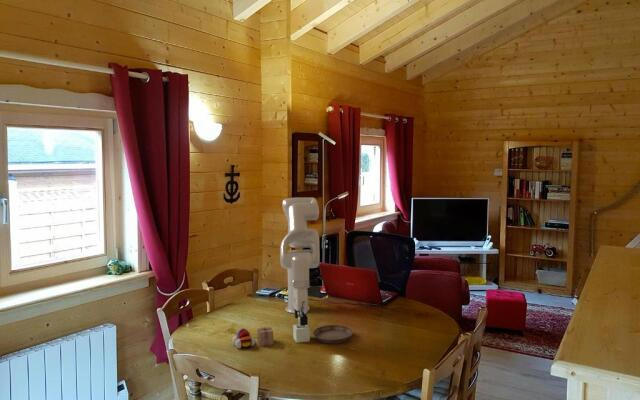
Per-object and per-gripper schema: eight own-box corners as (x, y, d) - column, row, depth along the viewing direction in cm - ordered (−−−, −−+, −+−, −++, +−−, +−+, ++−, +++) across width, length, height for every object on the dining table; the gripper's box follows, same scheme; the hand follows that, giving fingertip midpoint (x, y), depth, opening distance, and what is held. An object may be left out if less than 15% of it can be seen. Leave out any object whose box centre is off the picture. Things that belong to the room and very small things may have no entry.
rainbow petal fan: (238, 351, 222) (237, 334, 221) (230, 343, 230) (230, 327, 230) (257, 347, 226) (256, 330, 225) (249, 339, 234) (248, 324, 233)
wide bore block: (293, 337, 236) (293, 324, 235) (306, 336, 237) (306, 323, 237) (296, 342, 230) (296, 329, 229) (309, 341, 232) (309, 327, 231)
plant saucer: (323, 348, 224) (323, 341, 224) (307, 334, 240) (307, 328, 240) (359, 341, 231) (359, 334, 231) (342, 328, 247) (341, 322, 247)
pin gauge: (297, 338, 235) (296, 311, 233) (303, 337, 236) (303, 310, 234) (298, 341, 232) (298, 313, 230) (305, 340, 233) (305, 313, 231)
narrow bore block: (257, 341, 232) (257, 328, 232) (270, 339, 234) (270, 326, 233) (259, 346, 227) (259, 332, 226) (273, 344, 228) (273, 331, 227)
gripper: (287, 279, 238) (288, 316, 240) (296, 289, 222) (297, 328, 223) (304, 278, 240) (304, 314, 242) (314, 287, 224) (314, 326, 225)
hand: (301, 321), depth 233 cm, fingers open, 9 cm apart
